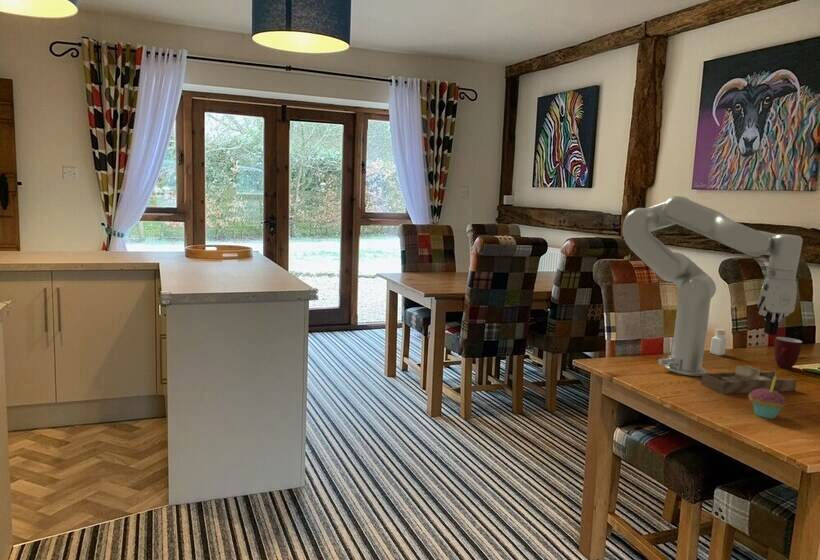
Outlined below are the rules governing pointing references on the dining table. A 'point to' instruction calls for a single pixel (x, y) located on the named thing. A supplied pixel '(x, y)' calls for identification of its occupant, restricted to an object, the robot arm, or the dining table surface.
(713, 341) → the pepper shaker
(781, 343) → the mug
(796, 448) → the dining table surface
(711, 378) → the tray
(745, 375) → the birch block
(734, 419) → the dining table surface
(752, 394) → the cupcake
